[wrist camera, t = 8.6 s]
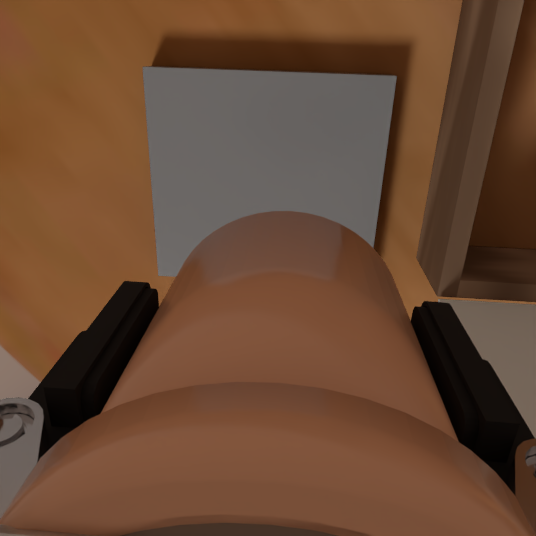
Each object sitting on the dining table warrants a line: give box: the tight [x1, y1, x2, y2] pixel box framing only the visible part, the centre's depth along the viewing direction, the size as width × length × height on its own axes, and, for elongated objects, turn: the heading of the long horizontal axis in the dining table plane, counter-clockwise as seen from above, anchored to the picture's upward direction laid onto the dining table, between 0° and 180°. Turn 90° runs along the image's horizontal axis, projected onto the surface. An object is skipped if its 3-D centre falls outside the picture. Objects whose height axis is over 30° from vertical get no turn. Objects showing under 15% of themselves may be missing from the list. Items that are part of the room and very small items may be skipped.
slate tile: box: [143, 66, 397, 277], centre depth 27 cm, size 13×12×2 cm
